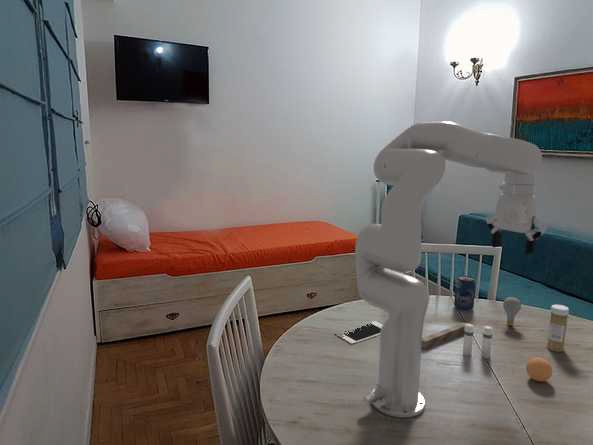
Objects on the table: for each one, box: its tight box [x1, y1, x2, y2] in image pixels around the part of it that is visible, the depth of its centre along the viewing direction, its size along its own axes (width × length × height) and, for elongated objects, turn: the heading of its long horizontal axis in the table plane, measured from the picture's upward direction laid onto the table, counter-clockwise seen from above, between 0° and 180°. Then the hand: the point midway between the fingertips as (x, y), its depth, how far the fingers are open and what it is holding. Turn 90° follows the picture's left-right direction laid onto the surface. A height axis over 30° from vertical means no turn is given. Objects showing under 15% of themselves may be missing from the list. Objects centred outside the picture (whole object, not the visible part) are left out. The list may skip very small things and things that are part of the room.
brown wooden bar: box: [421, 322, 468, 350], centre depth 138 cm, size 22×2×2 cm, turn 125°
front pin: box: [480, 325, 494, 360], centre depth 126 cm, size 2×2×9 cm
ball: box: [525, 357, 553, 383], centre depth 114 cm, size 6×6×6 cm
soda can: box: [453, 275, 477, 313], centre depth 161 cm, size 7×7×12 cm
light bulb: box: [502, 296, 522, 327], centre depth 147 cm, size 6×6×10 cm
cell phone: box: [342, 320, 383, 345], centre depth 142 cm, size 9×18×1 cm, turn 124°
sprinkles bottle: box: [546, 304, 570, 353], centre depth 130 cm, size 5×5×13 cm
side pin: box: [462, 323, 475, 357], centre depth 127 cm, size 2×2×9 cm
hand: (512, 250), depth 124 cm, fingers open, 9 cm apart
